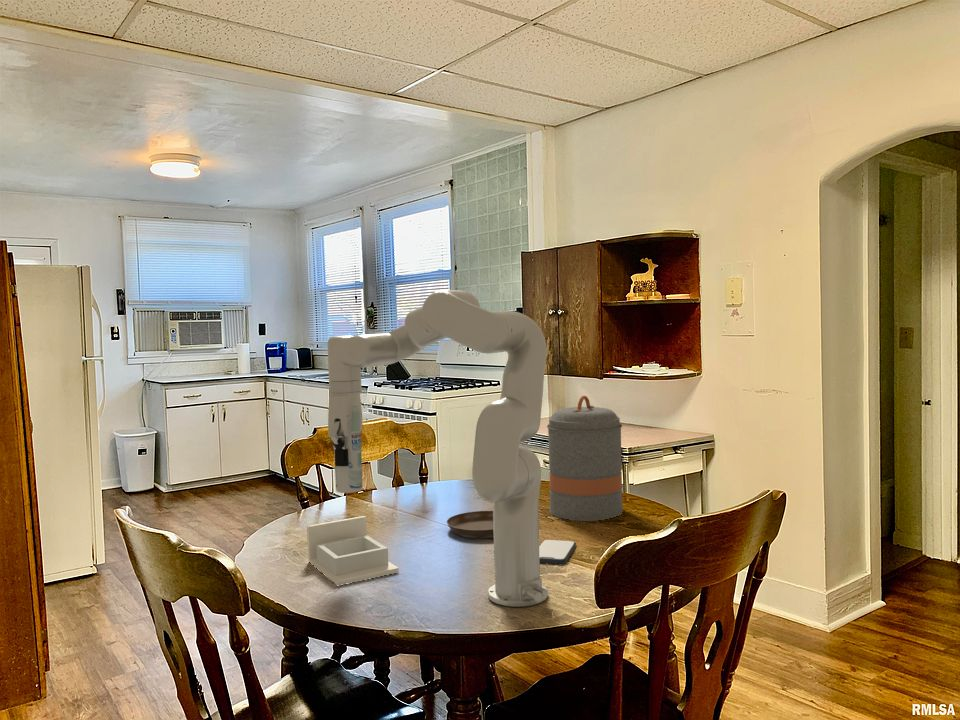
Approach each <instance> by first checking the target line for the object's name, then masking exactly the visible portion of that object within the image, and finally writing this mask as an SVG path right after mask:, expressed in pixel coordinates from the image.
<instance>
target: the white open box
mask: <svg viewBox="0 0 960 720" xmlns="http://www.w3.org/2000/svg"><path fill="white" fill-rule="evenodd" d="M367 531H368V530H367V516H365V515H362V516H355V517H350V518H349V517H348V518H345V519H344V518H343V519H339V520H332V521H327V522H321V523H315V524H310V525H307V526H306V532H307V533H306V534H307V557H308V561H309V562H311V563H312V564H313V565H314V566H315V567H316V568H318V569H319V570H320V571H321V572H322V573H324V574H325V575H326V576H327V577H328V578H329V579H330V580H332V581H333V582H334V583H335V584H336V585H341V584H346V583H351V582H356V581H360V580H365V579H369V578H374V577H378V578H380V577H379V576H383V577H385V576H384V575H387V576H390V575H389V574H392V575H395V574H394V573H396V574H399V569H400V568H399V567H398V566H396V565H395V564H393V563H392V562H390V561H389V549H388V547H387V546H385V545H383V544H382V543H380V542H378V541H377V540H375V539H373V538H372V537H370V536H369V535H368V534H367V533H368V532H367ZM309 562H308V563H309ZM316 568H315V569H316ZM329 579H328V580H329ZM374 579H375V578H374ZM330 580H329V581H330ZM369 580H370V579H369ZM365 581H366V580H365ZM356 583H357V582H356ZM335 584H334V585H335ZM336 585H335V586H336Z"/></svg>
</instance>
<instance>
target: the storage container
mask: <svg viewBox="0 0 960 720" xmlns="http://www.w3.org/2000/svg"><path fill="white" fill-rule="evenodd" d="M583 401H585V405H586V406H582V404H583ZM620 420H621V419H620V417H619V416H618V415H617V414H616V413H615V412H614V411H613V410H612V409H609V408H606V407H598V406H593V405H591V402H590V400H589V398H588V396H586V395H581V396H580V398H579V399H578V403H577V406H576V407H575V406H573V407H572V406H571V407H565V408H560V409H557V410H555V412H554V413H553V414H552V415H551V417H549V418H548V424H547V425H546V428H547V429H548V430H547V432H548V434H547V435H548V470H549V473H548V474H549V475H548V476H549V488H550V489H549V514H551V515H552V516H553V515H554V516H553V517H556V518H558V517H559V519H562V518H563V519H562V520H566V519H569V520H568V521H574V520H576V522H598V521H597V520H602V521H605V520H604V519H608V520H610V519H609V518H613V517H616V516H618V515H620V514H622V515H623V513H624V508H623V490H622V488H623V482H622V481H623V480H622V479H623V477H622V475H623V473H622V464H623V463H622V428H623V424H622V423H620V422H621V421H620ZM622 512H623V513H622ZM620 516H621V515H620ZM616 518H617V517H616ZM613 519H614V518H613ZM577 520H578V521H577Z"/></svg>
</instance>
